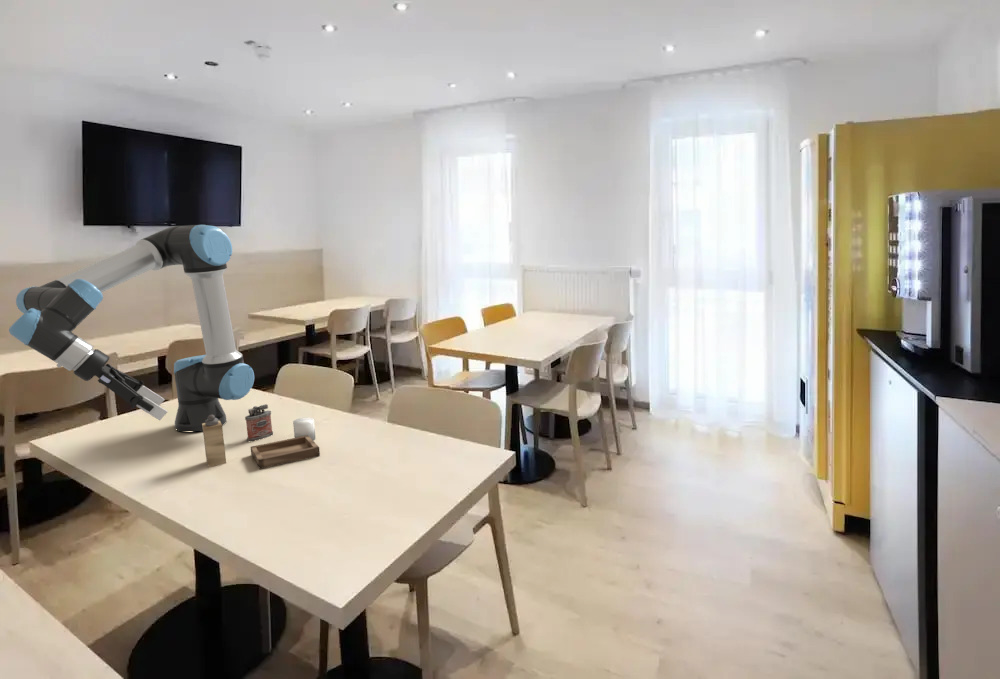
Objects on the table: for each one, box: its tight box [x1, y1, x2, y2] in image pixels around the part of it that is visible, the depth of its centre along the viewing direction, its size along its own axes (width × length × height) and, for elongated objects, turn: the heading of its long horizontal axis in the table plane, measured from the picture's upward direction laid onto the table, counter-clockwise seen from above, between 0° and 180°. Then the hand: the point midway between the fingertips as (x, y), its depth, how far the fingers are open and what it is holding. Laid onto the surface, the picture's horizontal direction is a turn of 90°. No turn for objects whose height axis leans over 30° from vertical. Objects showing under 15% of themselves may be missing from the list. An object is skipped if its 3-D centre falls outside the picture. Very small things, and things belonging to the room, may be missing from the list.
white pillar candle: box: [292, 417, 316, 441], centre depth 174 cm, size 6×6×6 cm
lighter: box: [244, 403, 274, 442], centre depth 176 cm, size 8×3×10 cm, turn 143°
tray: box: [250, 435, 321, 470], centre depth 162 cm, size 12×16×2 cm
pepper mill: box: [202, 415, 227, 468], centre depth 157 cm, size 4×4×14 cm
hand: (162, 409), depth 149 cm, fingers open, 13 cm apart
